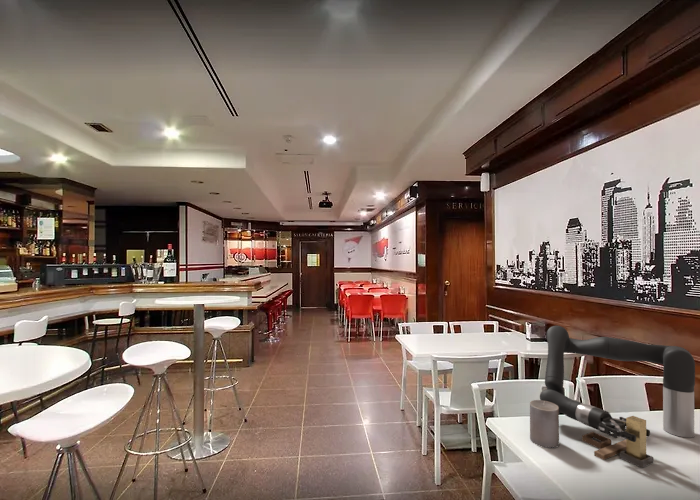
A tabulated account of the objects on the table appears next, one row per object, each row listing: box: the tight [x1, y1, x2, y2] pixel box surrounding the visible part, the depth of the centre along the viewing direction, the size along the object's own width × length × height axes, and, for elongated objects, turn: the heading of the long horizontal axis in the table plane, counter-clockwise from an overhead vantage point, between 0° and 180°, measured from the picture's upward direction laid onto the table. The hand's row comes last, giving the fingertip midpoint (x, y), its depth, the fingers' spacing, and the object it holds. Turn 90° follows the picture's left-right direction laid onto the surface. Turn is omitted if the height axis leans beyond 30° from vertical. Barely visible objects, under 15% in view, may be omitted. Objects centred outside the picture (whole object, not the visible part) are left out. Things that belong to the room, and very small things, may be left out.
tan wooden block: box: [625, 415, 647, 460], centre depth 126 cm, size 4×4×14 cm
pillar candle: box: [529, 399, 560, 449], centre depth 138 cm, size 10×10×15 cm
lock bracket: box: [581, 431, 654, 469], centre depth 132 cm, size 20×20×2 cm
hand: (642, 436), depth 124 cm, fingers open, 8 cm apart
